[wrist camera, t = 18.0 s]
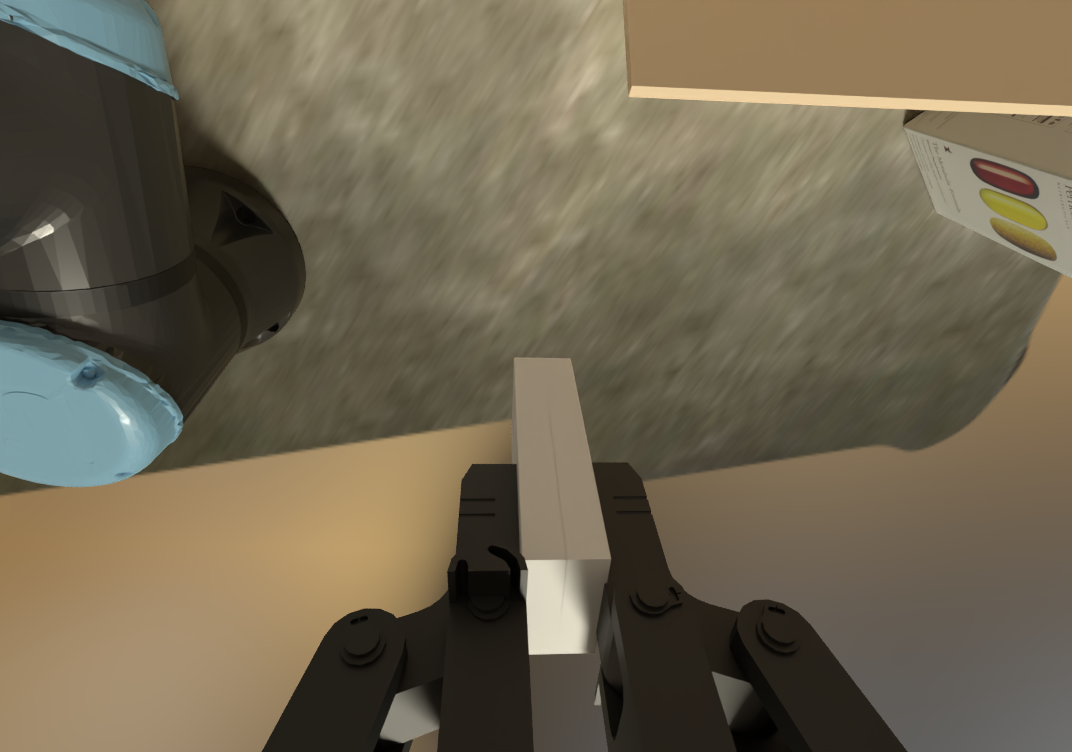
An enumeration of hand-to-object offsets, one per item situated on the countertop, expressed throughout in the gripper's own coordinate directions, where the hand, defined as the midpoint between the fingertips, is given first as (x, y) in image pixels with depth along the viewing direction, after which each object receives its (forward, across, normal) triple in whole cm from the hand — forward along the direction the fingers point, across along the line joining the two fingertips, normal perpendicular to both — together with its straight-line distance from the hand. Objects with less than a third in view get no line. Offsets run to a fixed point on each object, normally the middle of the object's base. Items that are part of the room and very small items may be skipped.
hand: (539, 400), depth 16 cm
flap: (+16, +15, +10) cm, 24 cm away
